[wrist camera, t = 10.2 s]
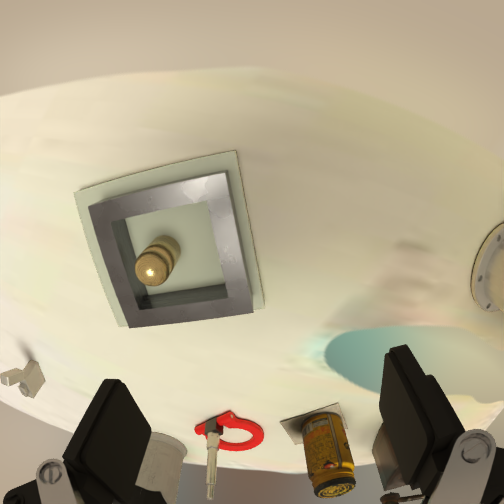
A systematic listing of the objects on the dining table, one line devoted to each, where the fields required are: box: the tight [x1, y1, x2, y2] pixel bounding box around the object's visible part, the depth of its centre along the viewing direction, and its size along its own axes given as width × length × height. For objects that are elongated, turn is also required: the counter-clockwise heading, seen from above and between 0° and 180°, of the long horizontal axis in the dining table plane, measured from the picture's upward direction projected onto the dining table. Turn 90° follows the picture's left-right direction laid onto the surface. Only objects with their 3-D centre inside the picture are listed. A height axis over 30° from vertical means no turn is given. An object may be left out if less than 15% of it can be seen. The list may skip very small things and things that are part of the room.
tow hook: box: [194, 411, 264, 500], centre depth 33 cm, size 8×13×9 cm
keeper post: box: [135, 235, 181, 287], centre depth 25 cm, size 3×3×6 cm
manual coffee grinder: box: [372, 423, 425, 504], centre depth 32 cm, size 16×11×18 cm
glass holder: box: [126, 432, 187, 504], centre depth 33 cm, size 9×14×15 cm, turn 81°
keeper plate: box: [74, 150, 265, 327], centre depth 28 cm, size 16×15×2 cm
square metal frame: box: [88, 170, 254, 328], centre depth 26 cm, size 12×12×3 cm
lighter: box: [0, 360, 45, 398], centre depth 31 cm, size 7×2×8 cm, turn 175°
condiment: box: [280, 403, 356, 498], centre depth 33 cm, size 7×8×12 cm
